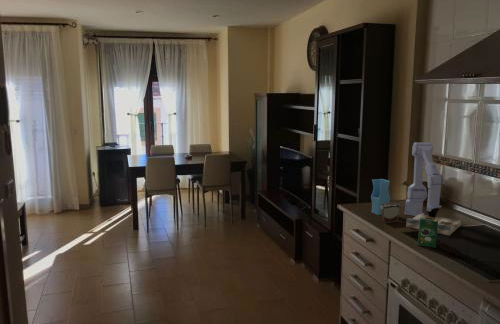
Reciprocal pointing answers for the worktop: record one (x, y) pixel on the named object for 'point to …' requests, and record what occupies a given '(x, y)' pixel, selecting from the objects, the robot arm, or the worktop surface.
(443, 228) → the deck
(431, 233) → the coffee box
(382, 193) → the vase
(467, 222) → the worktop surface
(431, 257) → the worktop surface
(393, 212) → the food container
